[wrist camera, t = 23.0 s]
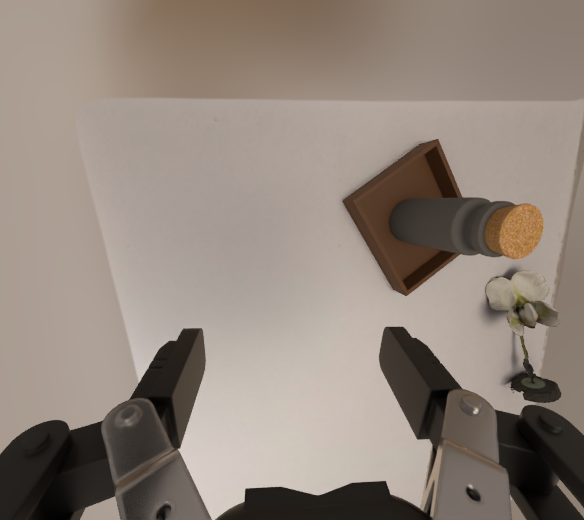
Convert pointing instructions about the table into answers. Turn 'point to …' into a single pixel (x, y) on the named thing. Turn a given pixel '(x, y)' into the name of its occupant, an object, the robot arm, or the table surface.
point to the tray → (383, 199)
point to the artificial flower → (526, 324)
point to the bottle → (468, 226)
